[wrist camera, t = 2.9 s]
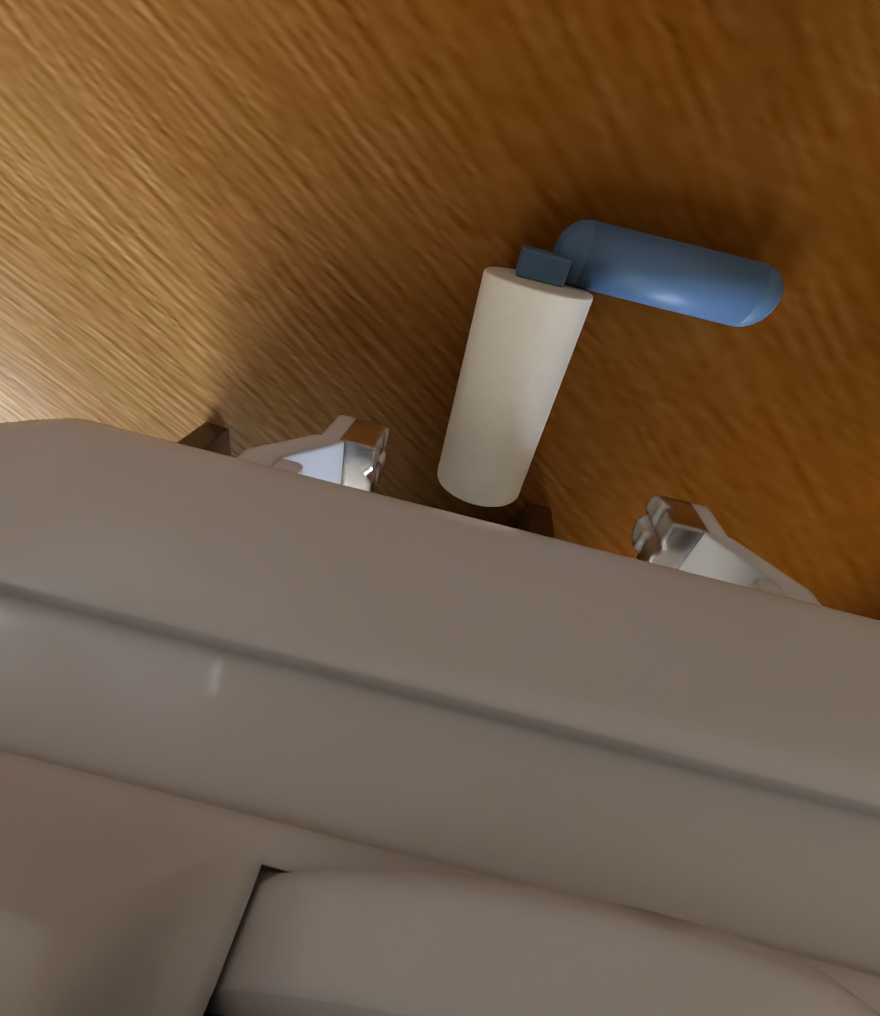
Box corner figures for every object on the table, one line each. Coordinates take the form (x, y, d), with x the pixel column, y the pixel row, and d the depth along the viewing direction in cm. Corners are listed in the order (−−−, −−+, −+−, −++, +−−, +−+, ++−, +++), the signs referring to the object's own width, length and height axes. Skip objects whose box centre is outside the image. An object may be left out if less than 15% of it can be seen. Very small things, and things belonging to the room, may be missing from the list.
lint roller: (502, 197, 18) (499, 195, 14) (779, 266, 18) (848, 282, 14) (442, 451, 25) (430, 494, 22) (640, 500, 25) (661, 551, 22)
